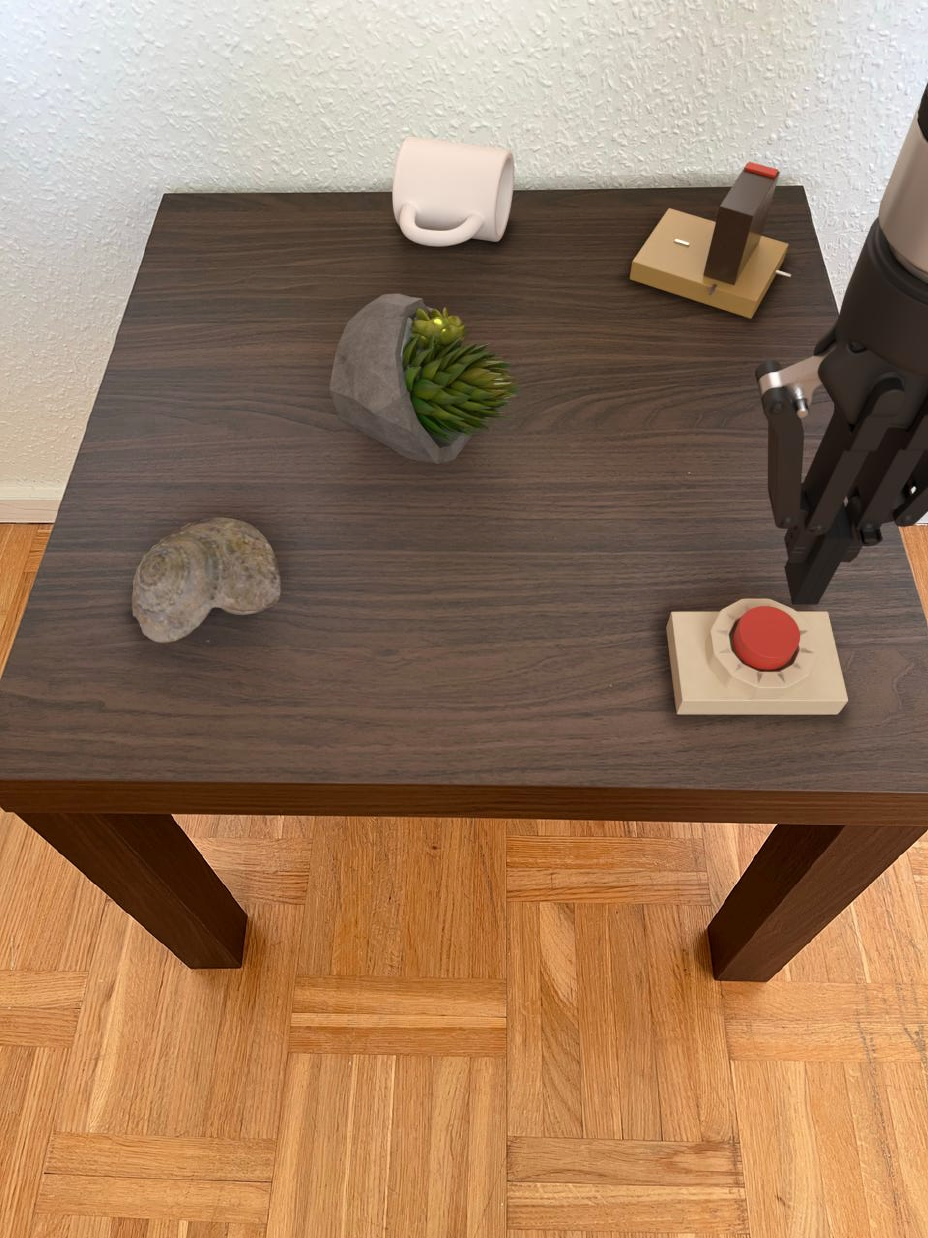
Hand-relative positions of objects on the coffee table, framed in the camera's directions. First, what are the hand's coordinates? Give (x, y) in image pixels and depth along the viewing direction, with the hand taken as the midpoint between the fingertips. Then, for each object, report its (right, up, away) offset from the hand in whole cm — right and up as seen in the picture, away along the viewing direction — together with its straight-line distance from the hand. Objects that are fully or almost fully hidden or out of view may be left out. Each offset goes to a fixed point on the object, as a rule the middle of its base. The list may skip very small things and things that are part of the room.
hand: (800, 585), depth 55 cm
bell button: (0, -4, +7) cm, 8 cm away
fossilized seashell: (-39, -1, +14) cm, 41 cm away
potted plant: (-23, +14, +22) cm, 35 cm away
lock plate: (+3, +31, +32) cm, 45 cm away
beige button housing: (0, -6, +10) cm, 11 cm away
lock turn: (+5, +31, +30) cm, 43 cm away
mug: (-22, +35, +35) cm, 54 cm away
